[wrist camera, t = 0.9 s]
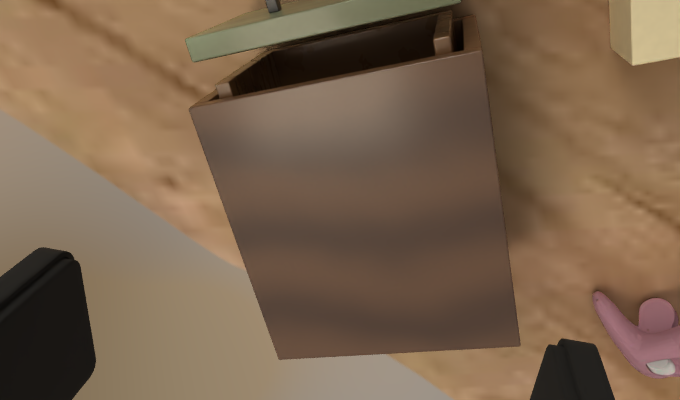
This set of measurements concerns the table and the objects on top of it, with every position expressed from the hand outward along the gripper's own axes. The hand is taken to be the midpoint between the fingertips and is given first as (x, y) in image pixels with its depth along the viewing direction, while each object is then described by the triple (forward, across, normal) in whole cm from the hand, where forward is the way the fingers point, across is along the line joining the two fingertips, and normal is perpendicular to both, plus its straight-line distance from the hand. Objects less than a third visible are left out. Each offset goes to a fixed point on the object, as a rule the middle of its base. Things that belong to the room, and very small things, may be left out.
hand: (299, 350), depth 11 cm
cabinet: (+28, 0, +7) cm, 28 cm away
